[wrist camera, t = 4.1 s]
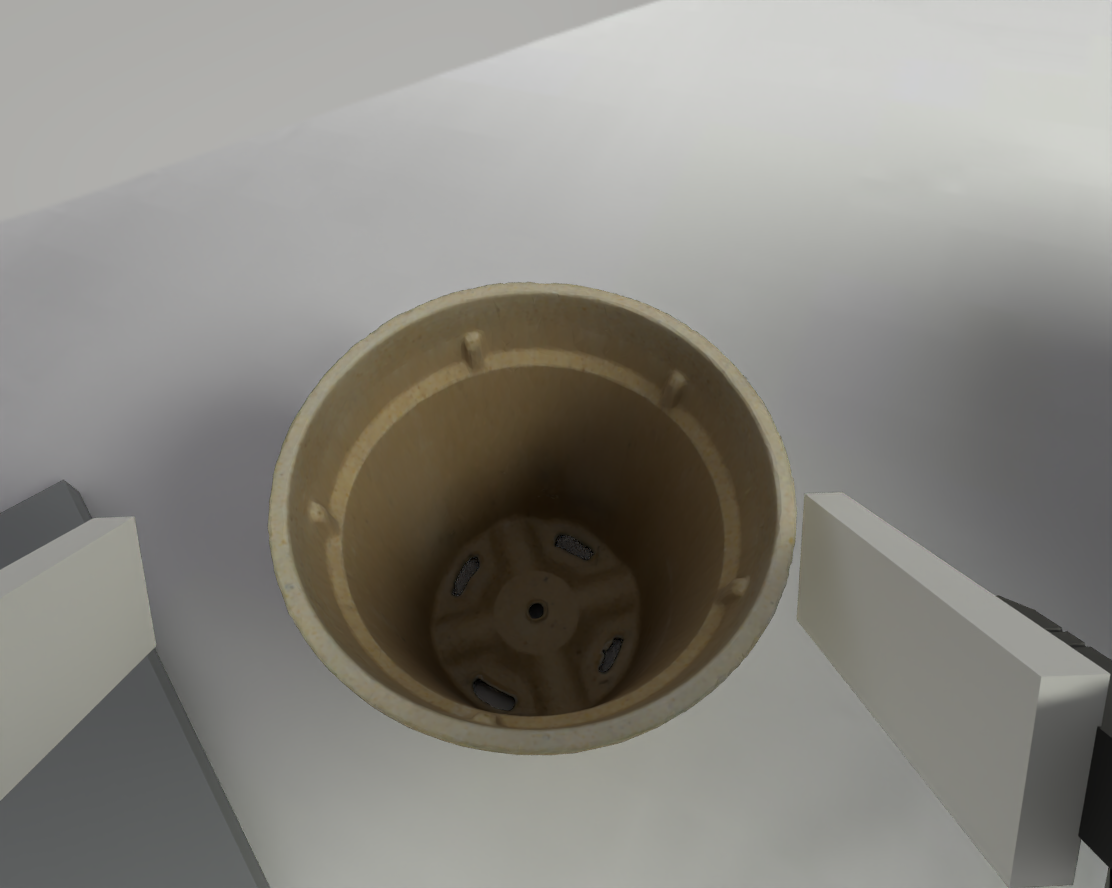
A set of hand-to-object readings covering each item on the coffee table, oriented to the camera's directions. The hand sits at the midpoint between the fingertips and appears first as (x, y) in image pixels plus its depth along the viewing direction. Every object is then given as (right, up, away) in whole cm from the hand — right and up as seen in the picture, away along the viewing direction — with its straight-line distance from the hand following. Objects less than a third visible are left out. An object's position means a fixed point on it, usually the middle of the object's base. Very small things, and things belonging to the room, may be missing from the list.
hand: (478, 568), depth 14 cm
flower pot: (+1, -3, +6) cm, 7 cm away
